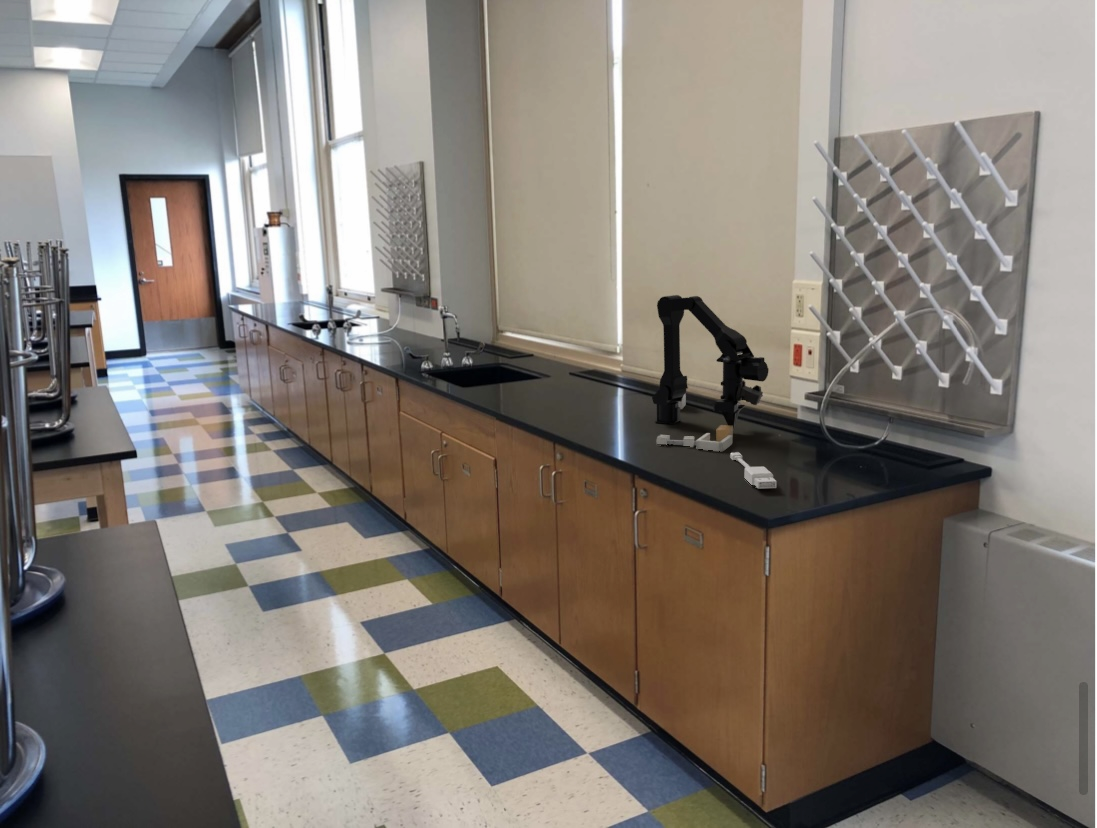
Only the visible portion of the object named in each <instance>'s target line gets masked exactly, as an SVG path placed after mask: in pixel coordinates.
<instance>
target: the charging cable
mask: <svg viewBox="0 0 1097 828" xmlns="http://www.w3.org/2000/svg"><path fill="white" fill-rule="evenodd" d="M729 454H730V455H729V457H730V459H731V460H732V461H733V460H736V462H739V463H740V464H741V465H742V466H743V467H744V478H745V479H746V480H747V481H748V482H749V483H750V484H751V485H755V486H756V487H755V488H757V489H777V480H776V479H775V478H774V474H773V473H772V472H771V471H770V470H768V469H767V467H765V466H764V465H763V466H751V465H750V464H748V463H747V462H746V461H745V460H744V459H743V455H742V454H741V453H740V452H739V451H736V452H731V453H729ZM745 479H744V480H745ZM746 480H745V481H746ZM747 481H746V482H747ZM748 482H747V483H748ZM749 483H748V484H749ZM750 484H749V485H750ZM751 485H750V486H751Z"/></svg>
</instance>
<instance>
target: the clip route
mask: <svg viewBox="0 0 1097 828" xmlns="http://www.w3.org/2000/svg"><path fill="white" fill-rule="evenodd" d="M655 441H656V442H655V443H656V445H657V444H666V445H667V444H669V445H671V444H673V445H675V446H690V447H689V448H694V447H695V446H696V440H695V436H693V435H692V436H691V435H690V436H688V435H687V436H685V435H684V436H683V439H671V435H667V434H659V435H658V436H657V437H656V439H655ZM667 446H668V445H667Z"/></svg>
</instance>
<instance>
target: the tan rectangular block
mask: <svg viewBox="0 0 1097 828" xmlns="http://www.w3.org/2000/svg"><path fill="white" fill-rule="evenodd" d="M715 431H716V432H715V433H716V434H715V436H716V437H715V438H716V439H715V441H717V442H720V441H722V440H723V439H724V438H726V437H727V436H728V435H732V438H734V436H733V435H734V434H733V433H734V432H733V431H734V430H733V426H729V425H727V424H726V425H725V424H720V425H719V426H718V427H717V428H716V430H715Z"/></svg>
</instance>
